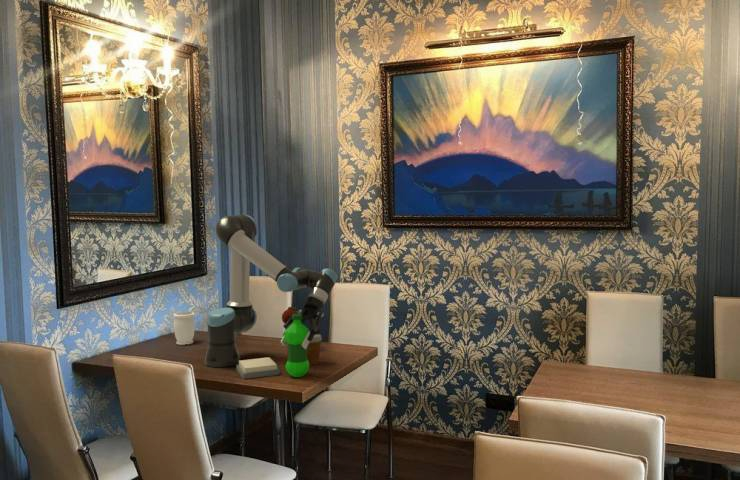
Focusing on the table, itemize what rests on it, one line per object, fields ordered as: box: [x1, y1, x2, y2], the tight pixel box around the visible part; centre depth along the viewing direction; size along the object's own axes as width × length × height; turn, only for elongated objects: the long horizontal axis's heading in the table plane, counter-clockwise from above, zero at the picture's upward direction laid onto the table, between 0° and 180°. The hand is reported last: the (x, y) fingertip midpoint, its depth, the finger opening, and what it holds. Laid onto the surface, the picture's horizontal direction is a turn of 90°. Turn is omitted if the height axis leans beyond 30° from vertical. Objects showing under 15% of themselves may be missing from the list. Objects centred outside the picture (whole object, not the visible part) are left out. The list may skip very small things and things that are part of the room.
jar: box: [172, 311, 196, 346], centre depth 314 cm, size 11×10×15 cm
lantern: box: [281, 295, 297, 325], centre depth 300 cm, size 10×10×30 cm
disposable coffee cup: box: [307, 333, 323, 365], centre depth 275 cm, size 10×10×12 cm
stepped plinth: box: [235, 356, 281, 380], centre depth 262 cm, size 15×15×4 cm
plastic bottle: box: [283, 314, 311, 378], centre depth 255 cm, size 10×10×25 cm
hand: (292, 345), depth 253 cm, fingers closed on plastic bottle, 10 cm apart
